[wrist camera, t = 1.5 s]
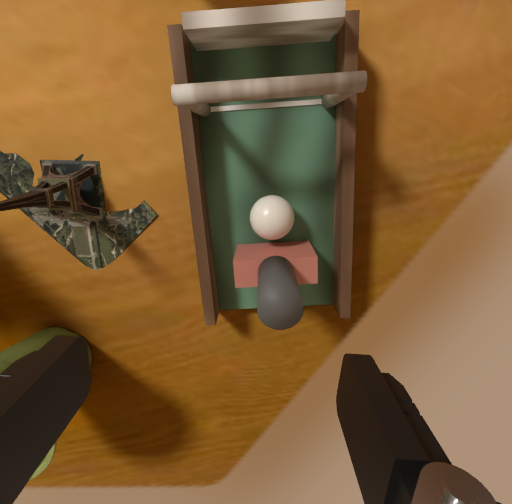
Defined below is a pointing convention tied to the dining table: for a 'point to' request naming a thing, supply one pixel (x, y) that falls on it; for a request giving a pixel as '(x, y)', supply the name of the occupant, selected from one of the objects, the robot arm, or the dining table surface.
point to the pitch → (269, 137)
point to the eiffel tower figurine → (72, 207)
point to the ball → (272, 217)
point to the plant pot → (25, 347)
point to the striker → (276, 278)
